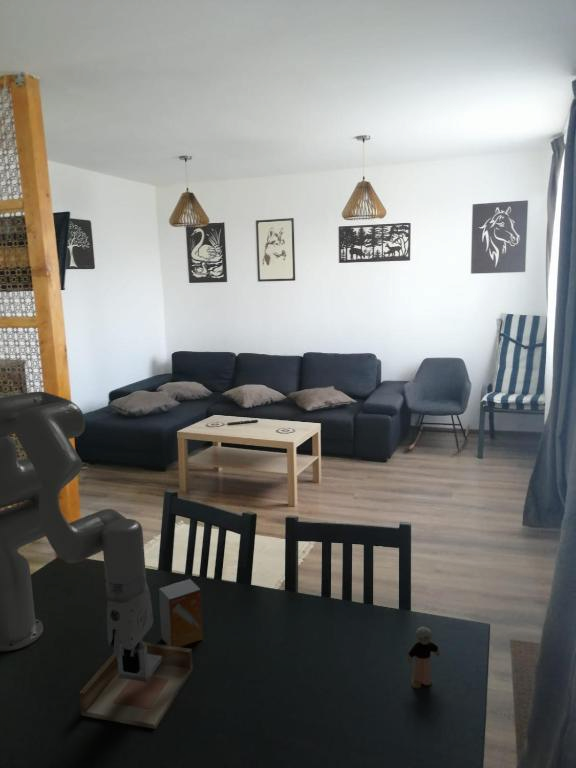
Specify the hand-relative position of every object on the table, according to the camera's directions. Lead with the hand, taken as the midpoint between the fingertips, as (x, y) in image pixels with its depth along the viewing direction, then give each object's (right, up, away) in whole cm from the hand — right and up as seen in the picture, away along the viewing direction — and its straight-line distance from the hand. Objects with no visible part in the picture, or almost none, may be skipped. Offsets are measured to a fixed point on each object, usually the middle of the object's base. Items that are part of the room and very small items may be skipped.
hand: (133, 668), depth 120 cm
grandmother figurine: (+59, -6, +7) cm, 60 cm away
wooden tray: (0, -7, +6) cm, 9 cm away
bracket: (+1, -1, +3) cm, 4 cm away
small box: (+6, -4, +23) cm, 24 cm away
